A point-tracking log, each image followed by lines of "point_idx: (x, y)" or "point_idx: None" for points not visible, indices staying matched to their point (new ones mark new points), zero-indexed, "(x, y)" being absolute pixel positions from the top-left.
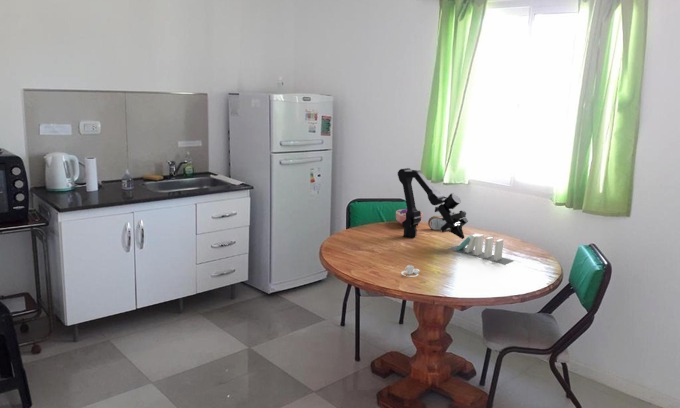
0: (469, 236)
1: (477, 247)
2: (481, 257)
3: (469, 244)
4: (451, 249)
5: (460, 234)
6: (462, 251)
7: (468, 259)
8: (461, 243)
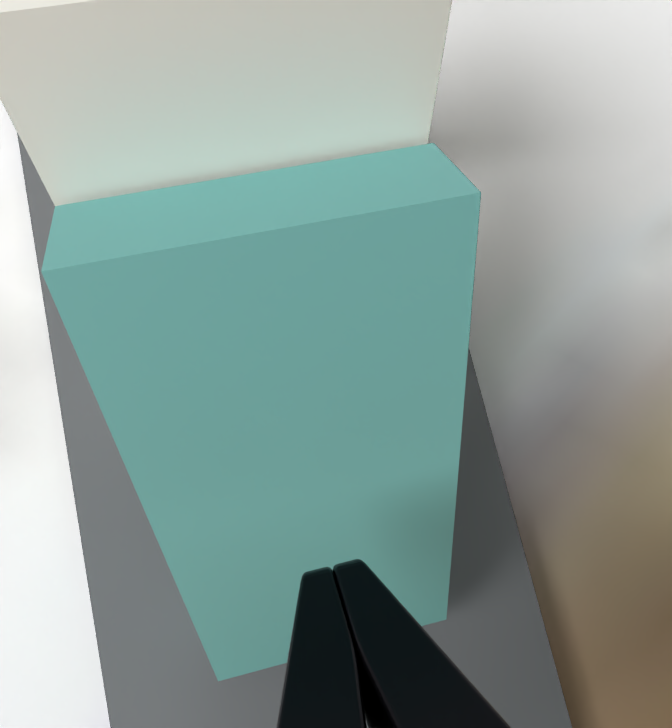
0: (402, 198)
1: None
2: None
3: None
4: (511, 693)
5: (477, 712)
6: None
7: (575, 119)
8: (453, 498)
